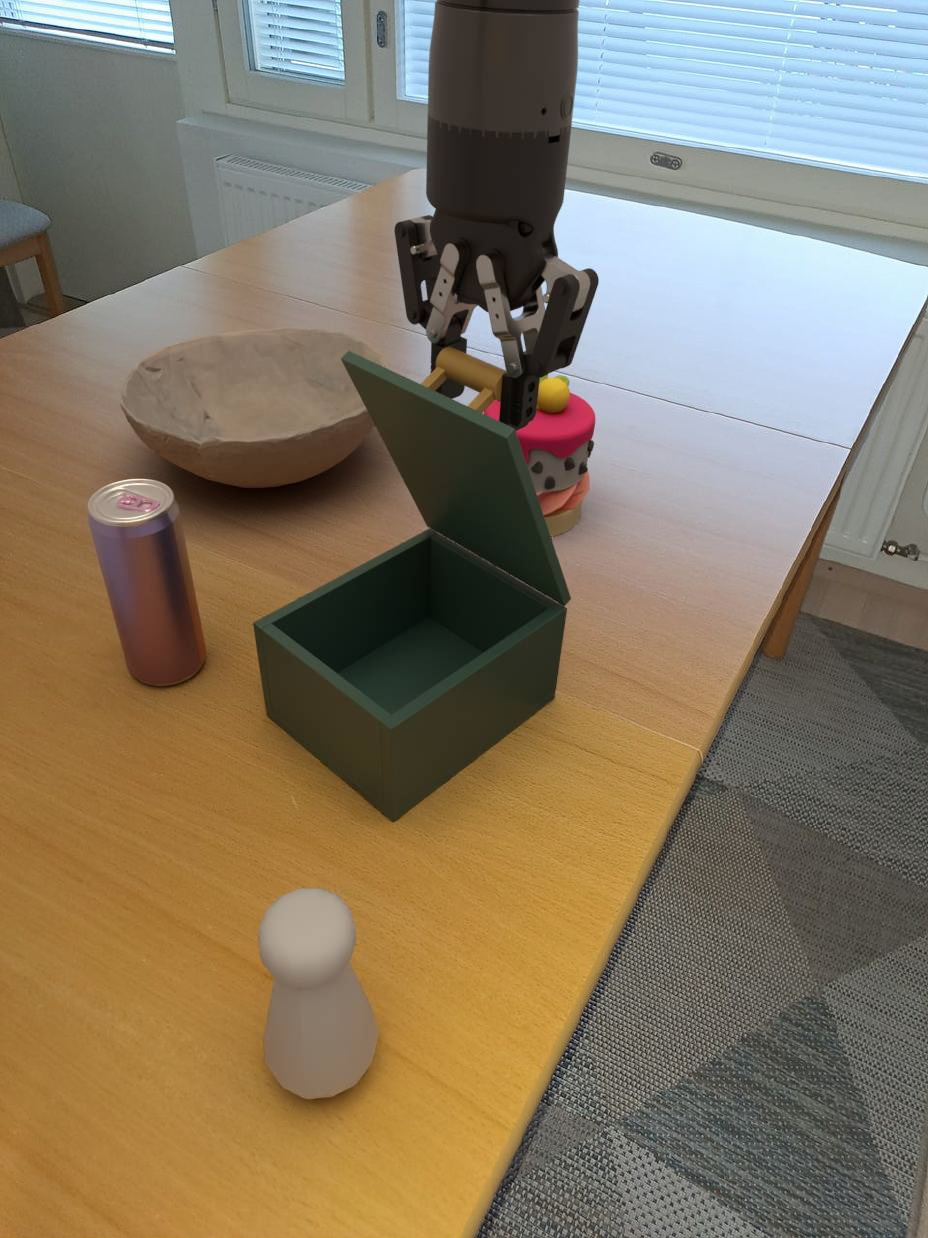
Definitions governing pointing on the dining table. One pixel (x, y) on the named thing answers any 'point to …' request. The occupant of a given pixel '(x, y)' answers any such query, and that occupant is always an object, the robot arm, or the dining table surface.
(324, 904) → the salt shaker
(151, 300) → the dining table surface
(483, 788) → the dining table surface
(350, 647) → the chest
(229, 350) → the bowl
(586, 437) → the cake
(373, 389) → the lid
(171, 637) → the beverage can
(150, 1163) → the dining table surface
